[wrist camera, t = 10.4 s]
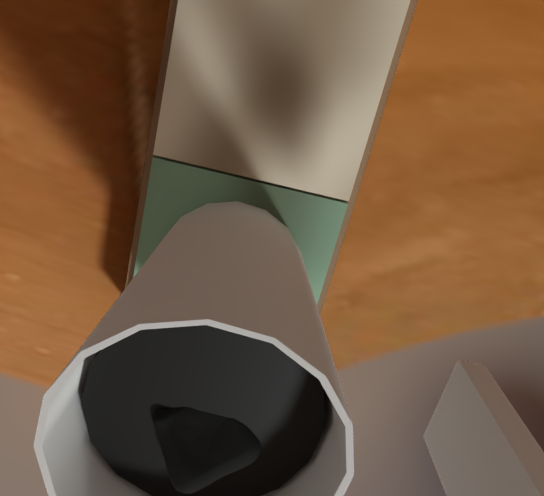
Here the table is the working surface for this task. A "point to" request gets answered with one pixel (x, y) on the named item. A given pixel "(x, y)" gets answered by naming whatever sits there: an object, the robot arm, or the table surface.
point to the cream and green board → (269, 116)
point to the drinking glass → (204, 375)
